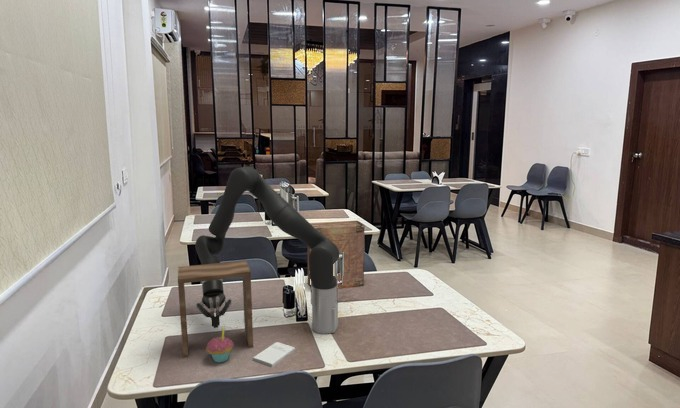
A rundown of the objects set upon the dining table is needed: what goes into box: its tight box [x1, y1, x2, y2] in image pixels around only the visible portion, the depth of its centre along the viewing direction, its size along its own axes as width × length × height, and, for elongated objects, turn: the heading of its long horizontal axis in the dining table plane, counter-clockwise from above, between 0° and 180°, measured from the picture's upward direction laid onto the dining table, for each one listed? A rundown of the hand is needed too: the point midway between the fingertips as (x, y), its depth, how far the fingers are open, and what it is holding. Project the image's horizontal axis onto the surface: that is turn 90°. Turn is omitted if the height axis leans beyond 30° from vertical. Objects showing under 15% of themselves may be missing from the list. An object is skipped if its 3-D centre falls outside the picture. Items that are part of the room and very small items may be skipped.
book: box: [307, 220, 366, 290], centre depth 208 cm, size 25×9×30 cm, turn 108°
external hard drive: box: [252, 341, 296, 368], centre depth 148 cm, size 2×8×12 cm
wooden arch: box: [177, 260, 254, 359], centre depth 152 cm, size 13×23×28 cm, turn 109°
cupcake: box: [205, 327, 235, 363], centre depth 144 cm, size 9×8×12 cm
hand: (216, 326), depth 158 cm, fingers closed
